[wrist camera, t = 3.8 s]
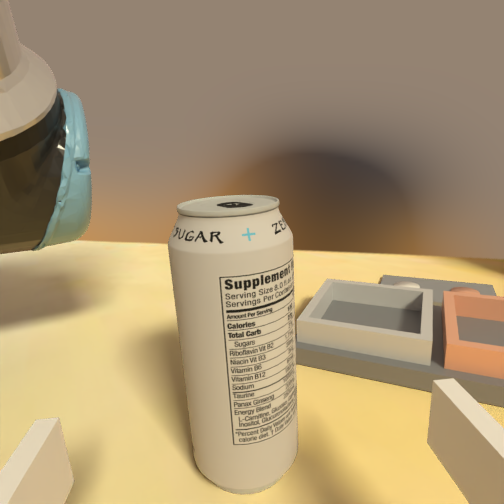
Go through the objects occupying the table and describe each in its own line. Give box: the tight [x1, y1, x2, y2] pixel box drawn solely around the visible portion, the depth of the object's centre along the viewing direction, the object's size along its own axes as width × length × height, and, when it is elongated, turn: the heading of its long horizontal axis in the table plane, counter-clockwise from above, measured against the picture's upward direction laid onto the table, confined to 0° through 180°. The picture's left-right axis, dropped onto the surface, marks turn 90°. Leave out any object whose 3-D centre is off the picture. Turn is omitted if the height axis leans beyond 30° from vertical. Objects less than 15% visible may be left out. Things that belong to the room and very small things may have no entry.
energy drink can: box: [168, 195, 298, 494], centre depth 20 cm, size 6×6×15 cm
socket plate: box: [295, 279, 504, 407], centre depth 31 cm, size 22×12×4 cm, turn 65°
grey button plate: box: [380, 275, 496, 306], centre depth 42 cm, size 12×7×1 cm, turn 65°
